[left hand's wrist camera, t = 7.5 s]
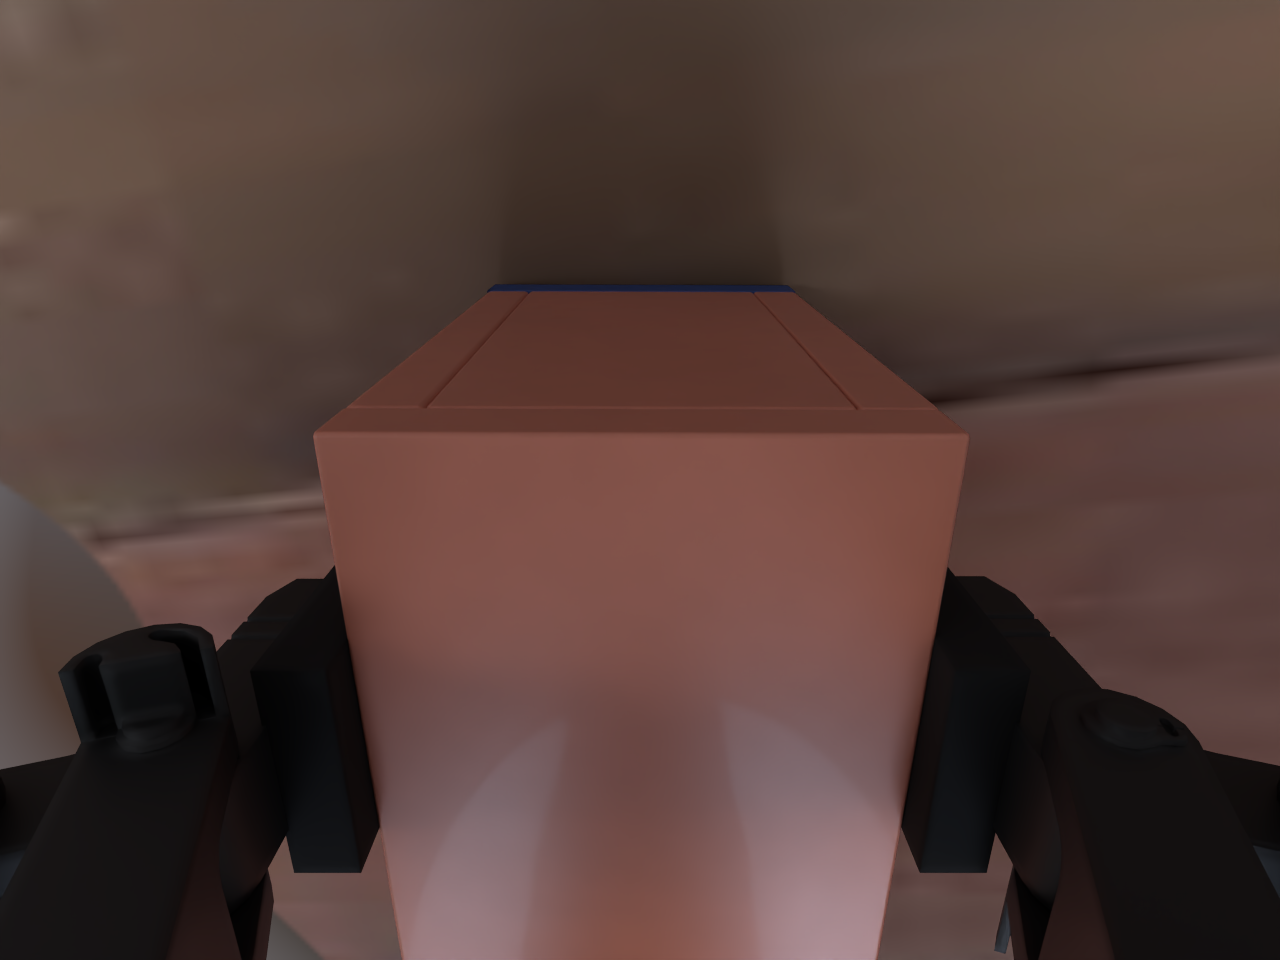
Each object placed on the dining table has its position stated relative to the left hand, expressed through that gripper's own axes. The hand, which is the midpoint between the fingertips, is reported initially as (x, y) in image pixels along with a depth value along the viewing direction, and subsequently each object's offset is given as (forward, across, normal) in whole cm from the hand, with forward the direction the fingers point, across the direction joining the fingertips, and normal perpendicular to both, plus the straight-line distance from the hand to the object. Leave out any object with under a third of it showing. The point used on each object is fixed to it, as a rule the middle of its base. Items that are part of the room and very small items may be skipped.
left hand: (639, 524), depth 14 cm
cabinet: (+4, 0, -4) cm, 6 cm away
